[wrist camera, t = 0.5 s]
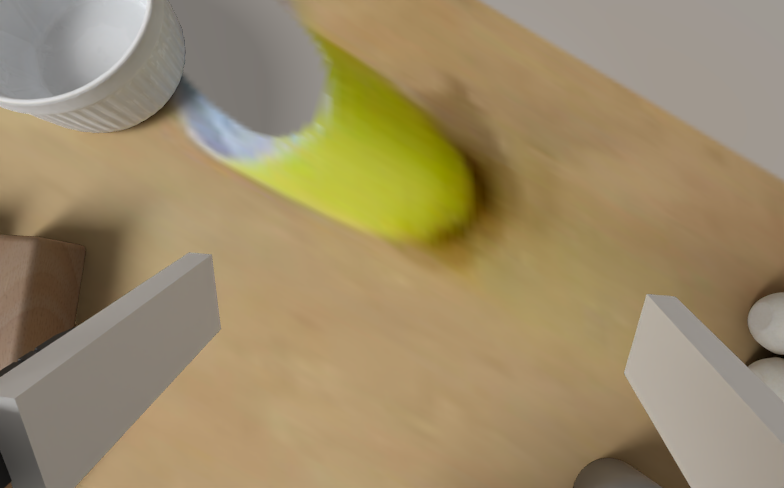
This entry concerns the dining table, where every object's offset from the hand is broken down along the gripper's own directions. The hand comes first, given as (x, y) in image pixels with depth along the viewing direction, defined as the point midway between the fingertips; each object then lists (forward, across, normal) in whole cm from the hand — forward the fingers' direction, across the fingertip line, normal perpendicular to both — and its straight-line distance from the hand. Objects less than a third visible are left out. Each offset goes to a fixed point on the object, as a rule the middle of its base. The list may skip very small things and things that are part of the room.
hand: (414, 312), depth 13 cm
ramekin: (+20, +24, -7) cm, 32 cm away
